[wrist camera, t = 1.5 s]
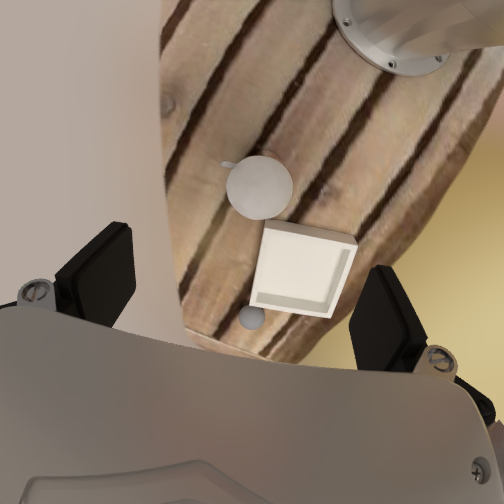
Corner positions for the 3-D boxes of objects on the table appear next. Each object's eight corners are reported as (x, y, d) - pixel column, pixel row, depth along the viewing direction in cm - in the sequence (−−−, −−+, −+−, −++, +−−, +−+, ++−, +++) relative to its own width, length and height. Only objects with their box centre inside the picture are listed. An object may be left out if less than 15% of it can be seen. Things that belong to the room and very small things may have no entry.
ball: (242, 296, 34) (239, 313, 32) (267, 301, 34) (266, 317, 32) (238, 315, 36) (235, 332, 33) (263, 320, 36) (261, 336, 33)
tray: (265, 217, 29) (264, 227, 27) (352, 235, 29) (358, 245, 27) (251, 292, 34) (249, 305, 32) (327, 304, 34) (330, 318, 32)
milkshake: (257, 126, 25) (247, 136, 16) (298, 166, 27) (309, 198, 18) (224, 160, 27) (197, 188, 18) (264, 198, 28) (257, 243, 20)
